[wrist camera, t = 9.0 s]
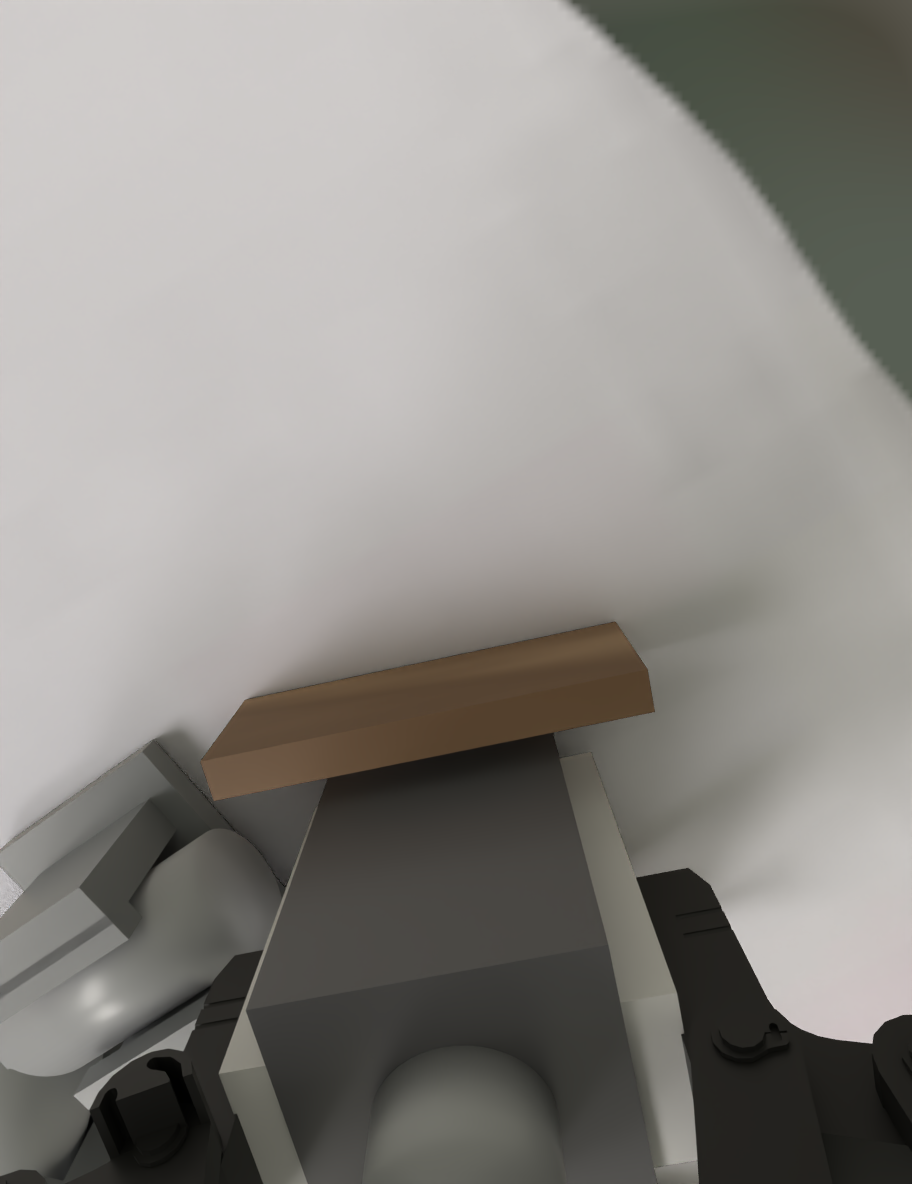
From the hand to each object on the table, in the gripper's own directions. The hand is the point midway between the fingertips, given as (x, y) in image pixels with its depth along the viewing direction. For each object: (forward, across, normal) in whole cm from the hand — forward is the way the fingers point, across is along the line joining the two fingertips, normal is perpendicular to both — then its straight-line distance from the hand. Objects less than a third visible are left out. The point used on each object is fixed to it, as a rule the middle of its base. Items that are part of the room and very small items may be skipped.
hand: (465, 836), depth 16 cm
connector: (0, 0, 0) cm, 0 cm away
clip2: (+1, +7, 0) cm, 7 cm away
